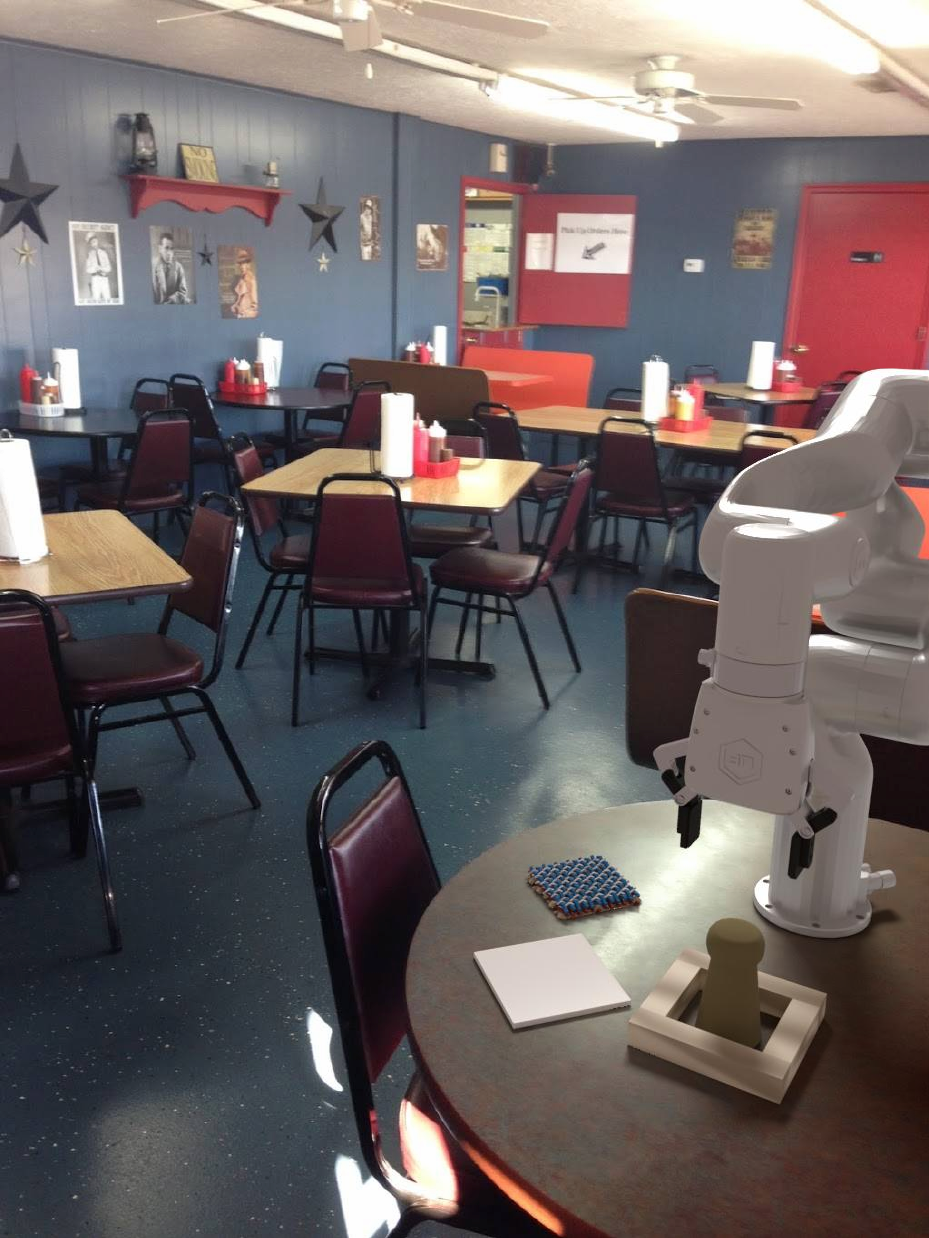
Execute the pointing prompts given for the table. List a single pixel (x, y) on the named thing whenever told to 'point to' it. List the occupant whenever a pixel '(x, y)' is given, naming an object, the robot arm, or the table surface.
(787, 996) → the wooden holder
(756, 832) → the table surface
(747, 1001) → the cork
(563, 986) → the ceramic tile
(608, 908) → the woven mat
